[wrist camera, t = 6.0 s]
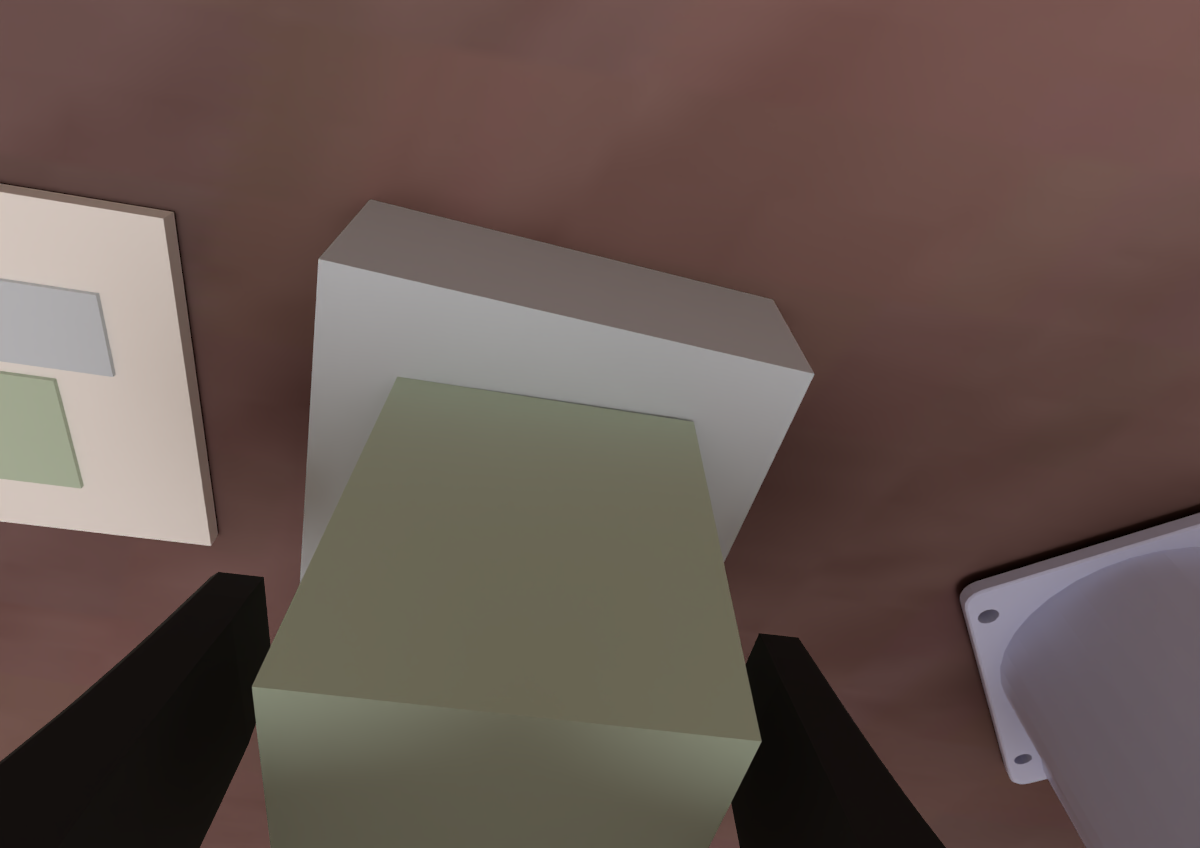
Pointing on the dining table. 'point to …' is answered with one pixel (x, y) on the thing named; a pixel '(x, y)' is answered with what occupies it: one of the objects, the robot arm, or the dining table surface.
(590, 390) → the slate base
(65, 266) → the card
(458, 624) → the sage block
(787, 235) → the dining table surface
